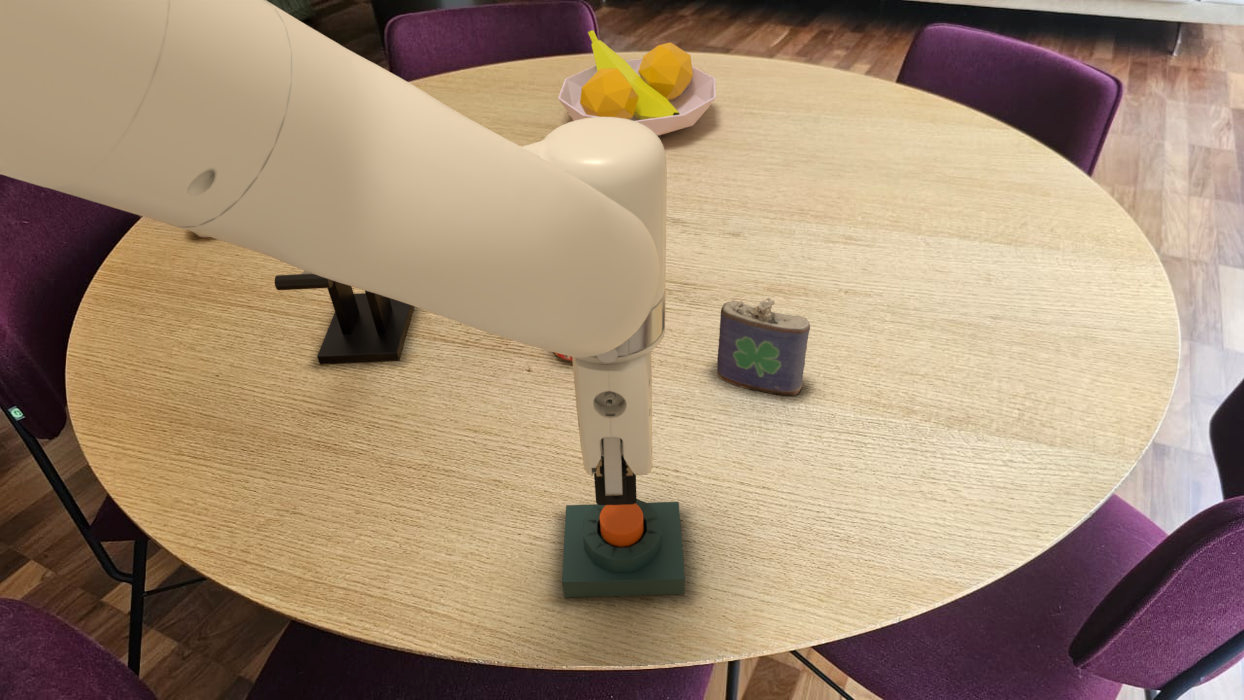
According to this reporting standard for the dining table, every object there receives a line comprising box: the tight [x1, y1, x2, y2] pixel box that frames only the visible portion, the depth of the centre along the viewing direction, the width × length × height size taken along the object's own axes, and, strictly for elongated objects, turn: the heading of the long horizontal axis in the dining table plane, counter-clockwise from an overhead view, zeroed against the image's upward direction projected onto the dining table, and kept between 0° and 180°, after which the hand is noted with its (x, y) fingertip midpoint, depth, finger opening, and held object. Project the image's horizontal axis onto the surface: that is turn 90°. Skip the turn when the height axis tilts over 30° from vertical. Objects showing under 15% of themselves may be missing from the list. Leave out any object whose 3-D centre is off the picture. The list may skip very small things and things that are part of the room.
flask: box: [716, 297, 811, 397], centre depth 83 cm, size 9×3×11 cm, turn 66°
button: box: [600, 504, 644, 547], centre depth 67 cm, size 4×4×2 cm
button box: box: [561, 498, 686, 599], centre depth 69 cm, size 10×8×4 cm
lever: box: [274, 270, 333, 291], centre depth 83 cm, size 15×5×2 cm, turn 2°
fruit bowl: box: [557, 29, 717, 137], centre depth 136 cm, size 28×27×11 cm
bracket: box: [316, 281, 415, 365], centre depth 92 cm, size 12×9×14 cm
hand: (616, 496), depth 64 cm, fingers closed
